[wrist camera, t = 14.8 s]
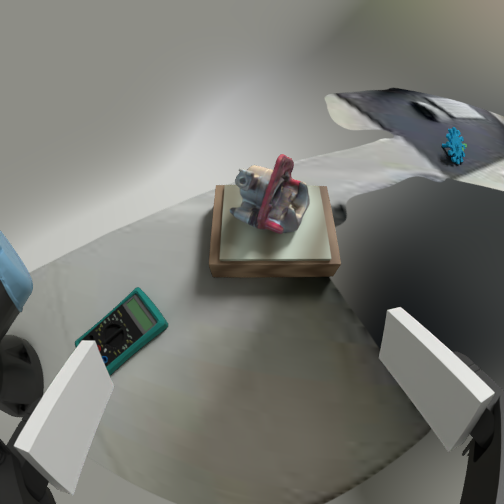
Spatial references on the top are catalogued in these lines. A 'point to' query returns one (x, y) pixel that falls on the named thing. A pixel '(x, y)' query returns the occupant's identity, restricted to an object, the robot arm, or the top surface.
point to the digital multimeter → (126, 329)
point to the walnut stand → (273, 241)
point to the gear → (455, 145)
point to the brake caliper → (271, 197)
